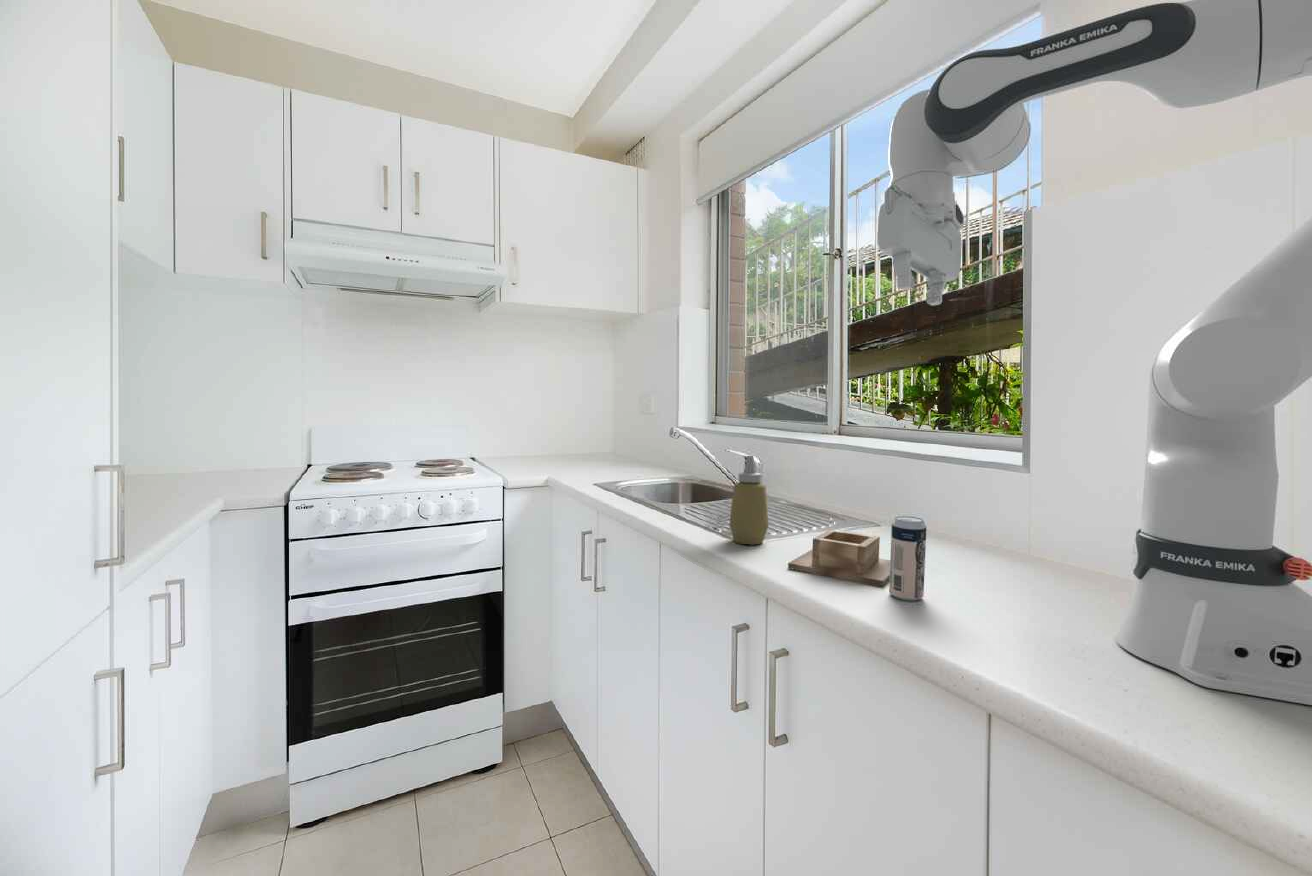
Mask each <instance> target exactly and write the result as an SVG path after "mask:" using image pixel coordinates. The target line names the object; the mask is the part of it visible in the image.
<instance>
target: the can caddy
mask: <svg viewBox="0 0 1312 876" xmlns="http://www.w3.org/2000/svg"><path fill="white" fill-rule="evenodd" d="M880 538H881V537H880V536H879V535H871V534H865V533H857V532H850V531H845V530H839V529H838V530H837V529H829V530H826V531H824V532H823V533H820V534H819V535H817V536H815V537H813V538H812V549H810V550H809V551H807V552H805V553H804V554H802V555H800V556H798V557H796V558H794V559H793V560H791V561H789V562H788V563H787V569H788V568H793V569H797V570H796V571H798V570H802V571H801V572H803V571H805V572H804V573H808V572H809V574H813V575H814V574H815V575H818V574H821V575H820V576H823V575H824V577H829V578H834V579H840V580H843V581H849V582H856V583H860V584H864V585H872V586H875V587H880V588H883V587H885V585H887V584H889V582H890V559H885V558H880V542H881V540H880Z"/></svg>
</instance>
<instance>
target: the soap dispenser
mask: <svg viewBox="0 0 1312 876" xmlns="http://www.w3.org/2000/svg"><path fill="white" fill-rule="evenodd" d="M761 482H762V473H760V472H757V468H756V464H755V457H754V455H747V457H746V462H745V465H744V469H743V472H739V473H738V482H736V483H735V484H734V485H733V491H732V499H731V500H732V501H731V506H730V508H731V509H730V515H729V528H730V532H731V535H732V538H733V541H734V540H735V541H734V542H735V543H738V544H741V545H745V544H750V545H749V546H754V545H755V544H756V545H760V544H762V543H764V540H765V537H766V534H767V530H768V528H769V514H768V513H769V512H768V502H767V501H768V499H767V487H766V485H765V484H763V483H761Z"/></svg>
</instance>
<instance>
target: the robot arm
mask: <svg viewBox="0 0 1312 876" xmlns="http://www.w3.org/2000/svg"><path fill="white" fill-rule="evenodd" d="M1310 76H1312V0H1187V1H1182V2H1163V3H1162V2H1161V3H1155V4H1151V5H1146V6H1145V5H1144V6H1142V7H1137V8H1135V9H1130V10H1128V11H1123V12H1120V13H1117V14H1115V15H1111V16H1108V17H1105V18H1104V17H1103V18H1102V19H1099V20H1096V21H1092V22H1090V23H1086V24H1083V25H1080V26H1078V27H1077V26H1076V27H1073V28H1071V29H1068V30H1065V31H1061V32H1058V33H1055V34H1053V35H1050V36H1046V37H1043V38H1040V39H1037V40H1033V41H1030V42H1027V43H1024V44H1021V45H1017V46H1012V47H1011V46H1010V47H1008V48H1007V47H1005V48H993V49H983V50H978V51H974V52H971V53H968V54H965V55H963V56H962V57H960V58H959V59H957V60H955V61H954V62H952V63H951V64H950V65H948V66H947V67H946V68H945V69H944V70H943V71H942V72H941V73H940V74H939V76H938V77H937V78H936V79H935V81H934V83H933V84H932V85H931V88H929V89H925V90H921V91H919V92H917V93H916V92H915V94H913V95H911V96H909V97H907V99H906V100H905V101H903V102H902V104H900V105H899V107H898V108H897V110H896V112H895V114H894V117H893V119H892V123H891V127H890V133H889V145H888V167H889V171H890V174H891V177H890V182H889V186H888V187H887V188H886V190H885V191H884V202H882V203H881V205H880V207H879V210H878V216H877V226H876V244H877V248H878V249H879V252H882V253H883V254H885V255H887V256H889V258H891V259H892V266H893V269H894V272H895V275H896V286H897V289H899V290H902V291H904V292H905V291H910V290H912V289H914V287H915V276H914V275H913V273H912V271H914V272H915V273H917V274H919V275H921V276H922V277H924V278H926V279H927V280H928V281H927V282H928V283H927V284H928V285H929V288H928V292H926V294H925V295H926V297H925V298H926V299H925V301H926V304H927V305H929V306H933V307H934V306H939V305H941V304H942V302H943V292H944V290H945V287H946V285H947V283H949V282H952V281H955V280H957V279H958V278H959V275H960V272H961V268H962V267H961V266H962V265H961V264H962V247H963V246H962V235H961V231H960V230H962V229H964V227H965V221H966V220H965V215H964V213H963V211H962V210H961V207H960V206H959V204H958V202H957V197H956V192H954V180H955V179H962V178H964V179H965V178H971V177H978V176H983V175H984V176H985V175H988V174H992V173H996V172H998V171H1001V170H1003V169H1005V168H1006V167H1008V166H1010V165H1011V164H1012V163H1013V162H1015V160H1016V159H1017V158H1018V157H1019V156H1020V155H1021V154H1022V152H1023V151H1024V150H1025V148H1026V146H1027V144H1028V142H1029V140H1030V135H1031V122H1030V119H1029V117H1028V114H1027V111H1026V108H1025V105H1024V103H1027V102H1031V101H1035V100H1039V99H1041V98H1045V97H1048V96H1051V95H1056V94H1058V93H1060V94H1061V93H1063V92H1067V91H1069V90H1073V89H1076V88H1080V87H1081V88H1082V87H1083V86H1088V85H1090V84H1096V83H1100V82H1101V83H1103V82H1120V83H1124V84H1129V85H1131V86H1134V87H1136V88H1138V89H1140V90H1142V91H1144V92H1145V93H1147V94H1148V95H1149V96H1151V98H1153V99H1154V100H1156V101H1157V102H1159V103H1161V104H1163V105H1166V106H1169V107H1172V108H1176V109H1187V108H1196V107H1201V106H1206V105H1212V104H1213V105H1214V104H1217V103H1222V102H1224V101H1225V102H1226V101H1228V100H1232V99H1234V98H1237V97H1241V96H1242V97H1243V96H1244V95H1247V94H1252V93H1254V92H1258V91H1261V90H1263V89H1266V88H1267V89H1268V88H1270V87H1273V86H1277V85H1279V84H1282V83H1287V82H1289V81H1291V80H1292V81H1293V80H1296V79H1299V78H1300V79H1301V78H1304V77H1310ZM1311 377H1312V216H1310V217H1309V218H1308V219H1307V220H1306V221H1305V222H1303V224H1301V225H1300V226H1299V227H1297V228H1296V230H1295V231H1293V232H1292V233H1291V234H1290V235H1288V237H1287V238H1285V239H1284V240H1283V241H1282V242H1280V243H1279V245H1277V246H1276V247H1275V248H1274V249H1273V250H1272V251H1271V252H1269V253H1268V254H1267V255H1266V256H1264V258H1262V259H1261V260H1260V261H1259V262H1257V263H1256V264H1255V265H1254V266H1253V267H1252V268H1250V269H1249V270H1248V271H1247V272H1245V274H1244V275H1242V276H1241V277H1240V278H1239V279H1238V280H1237V281H1236V282H1234V283H1233V284H1232V285H1231V286H1230V287H1229V288H1227V289H1226V290H1224V291H1223V293H1222V294H1220V295H1219V296H1218V297H1216V299H1215V300H1214V301H1212V302H1211V303H1210V304H1208V306H1206V307H1205V308H1204V309H1203V310H1202V311H1200V313H1198V314H1197V315H1196V316H1195V317H1194V318H1192V319H1191V320H1190V321H1189V322H1188V323H1187V324H1185V326H1183V327H1182V328H1181V329H1180V330H1179V331H1177V332H1176V333H1175V334H1174V335H1173V336H1172V337H1171V338H1170V339H1169V340H1168V341H1167V342H1166V343H1165V344H1164V345H1163V346H1162V348H1161V349H1160V350H1159V352H1158V353H1157V354H1156V355H1155V358H1154V359H1153V361H1152V364H1151V367H1150V370H1149V385H1148V387H1149V388H1148V406H1147V425H1146V426H1147V427H1146V443H1145V444H1146V445H1145V446H1146V448H1145V463H1144V464H1145V468H1144V481H1143V494H1142V497H1143V498H1142V507H1141V508H1142V509H1141V510H1142V511H1141V523H1140V524H1141V525H1140V528H1139V529H1138V530H1136V531H1135V532H1136V533H1135V539H1134V540H1133V549H1132V562H1131V563H1132V564H1131V565H1132V566H1131V568H1132V572H1133V575H1134V581H1133V587H1132V591H1131V595H1130V600H1129V603H1128V606H1127V610H1126V613H1125V616H1124V618H1123V621H1122V623H1121V625H1120V628H1119V629H1118V632H1117V633H1116V635H1115V640H1116V642H1117V644H1119V646H1120V647H1121V648H1123V649H1124V650H1126V651H1127V652H1129V653H1131V654H1132V655H1134V656H1136V657H1138V658H1140V659H1142V660H1144V661H1146V662H1149V663H1152V664H1154V665H1156V666H1158V667H1162V668H1165V669H1166V670H1169V671H1171V672H1174V673H1176V674H1178V675H1180V676H1181V677H1183V678H1185V679H1186V680H1189V681H1191V682H1192V683H1194V684H1197V685H1199V686H1202V687H1205V688H1208V689H1214V690H1219V691H1225V692H1231V693H1238V694H1243V695H1250V696H1256V697H1261V698H1266V699H1273V700H1279V701H1283V702H1285V701H1286V702H1291V703H1296V704H1297V703H1298V704H1303V705H1309V706H1312V595H1310V593H1308V592H1306V591H1305V590H1304V589H1302V588H1301V587H1300V586H1298V585H1297V584H1295V583H1294V582H1295V581H1297V580H1299V581H1308V580H1312V578H1311V577H1312V563H1311V562H1309V561H1308V560H1306V559H1304V558H1302V557H1296V556H1294V555H1292V554H1290V553H1288V552H1287V551H1284V550H1282V549H1281V548H1279V547H1276V546H1275V545H1273V542H1274V533H1275V532H1274V531H1275V520H1276V511H1277V498H1278V497H1277V496H1278V489H1279V488H1278V487H1279V486H1278V485H1279V478H1280V477H1279V470H1278V462H1277V451H1276V450H1277V449H1276V429H1275V428H1276V427H1275V422H1276V421H1275V420H1276V419H1275V415H1276V414H1275V413H1276V411H1275V409H1276V407H1275V406H1276V405H1277V404H1279V403H1281V402H1282V401H1283V400H1284V399H1285V398H1286V397H1288V396H1290V394H1291V393H1292V392H1295V391H1296V390H1297V389H1298V388H1300V386H1302V385H1303V384H1304V383H1305V382H1306V381H1308V380H1309V379H1310V378H1311Z"/></svg>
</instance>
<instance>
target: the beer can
mask: <svg viewBox="0 0 1312 876" xmlns="http://www.w3.org/2000/svg"><path fill="white" fill-rule="evenodd" d="M927 528H928V527H927V525H926V523H925V520H924V519H923V518H920V517H917V516H909V515H908V516H906V515H897V516H895V517H894V519H893V521H892V523H891V533H890V534H891V535H890V541H891V542H890V559H889V560H890V581H889V582H888V584H889V585H888V591H889V592H888V593H889V594H890V595H891V596H893V597H894V598H895V599H898V600H900V601H901V600H902V601H908V602H914V601H915V602H917V601H918V600H920V599H922V598H924V593H925V592H924V591H925V573H926V571H925V570H926V569H925V568H926V547H927Z"/></svg>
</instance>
